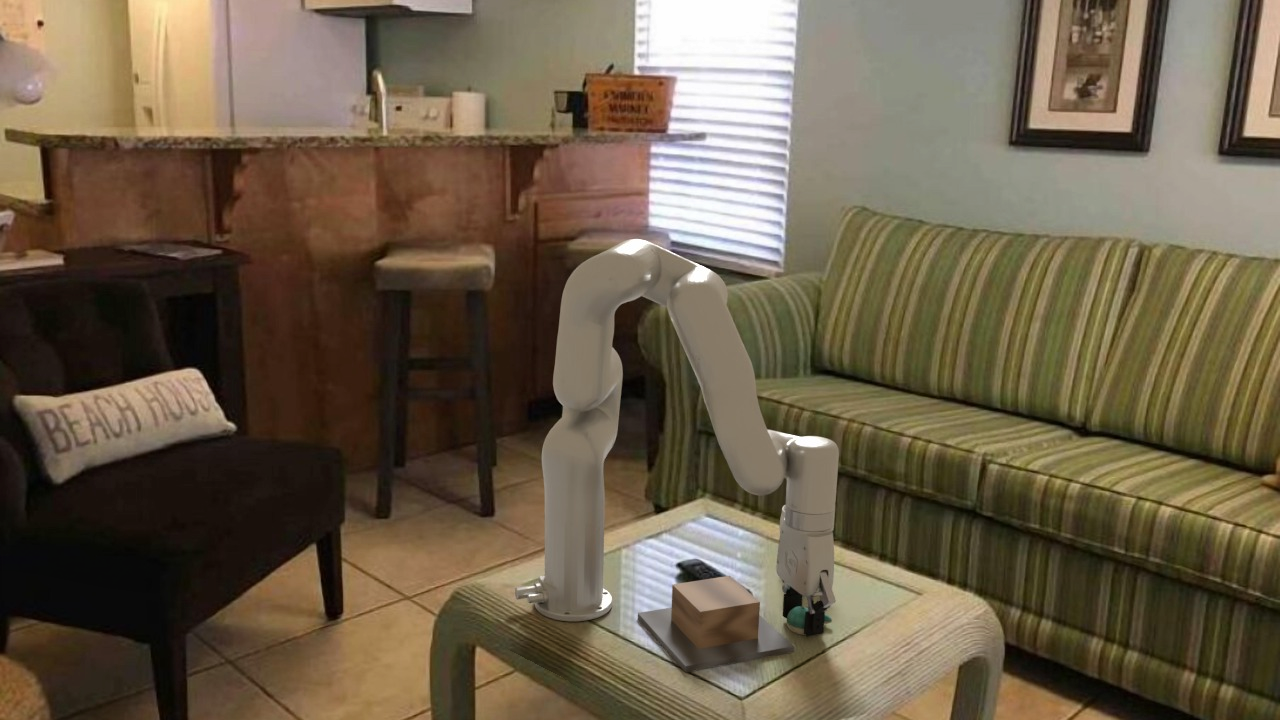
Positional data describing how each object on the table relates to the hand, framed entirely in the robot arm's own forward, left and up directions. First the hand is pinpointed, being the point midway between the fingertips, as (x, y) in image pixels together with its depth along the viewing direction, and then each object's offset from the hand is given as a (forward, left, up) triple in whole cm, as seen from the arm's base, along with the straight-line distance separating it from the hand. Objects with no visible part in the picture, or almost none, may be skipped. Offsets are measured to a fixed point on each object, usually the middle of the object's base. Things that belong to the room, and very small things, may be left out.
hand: (802, 624), depth 174 cm
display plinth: (-14, +3, -1) cm, 14 cm away
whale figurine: (+1, 0, -1) cm, 2 cm away
